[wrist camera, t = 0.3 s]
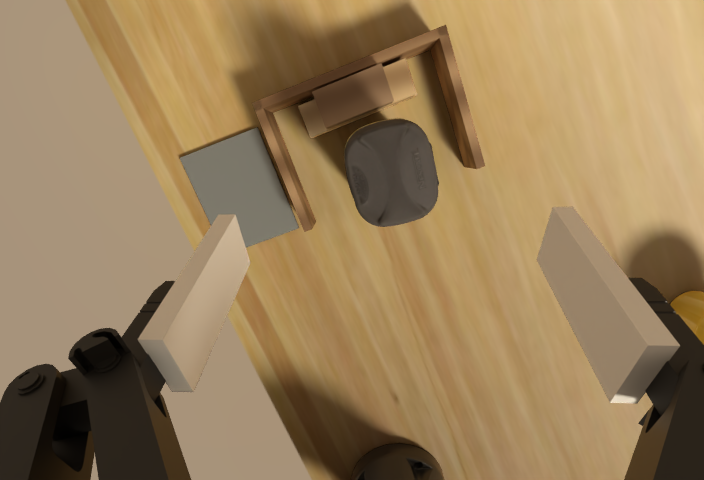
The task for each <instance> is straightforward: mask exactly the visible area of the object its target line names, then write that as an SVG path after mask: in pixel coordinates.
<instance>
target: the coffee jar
mask: <svg viewBox="0 0 704 480" xmlns="http://www.w3.org/2000/svg"><path fill="white" fill-rule="evenodd" d="M344 161H345V169H346V174H347V179H348V183H349V186H350V190H351V193H352V196H353V198H354V201H355V204H356V207H357V210H358V212H359V213H360V215H361V216H362V217H363V218H364V219H365V220H366V221H367V222H369V223H370V224H372V225H375V226H380V227H387V226H395V225H400V224H404V223H408V222H411V221H415V220H417V219H420V218H422V217H424V216H425V215H427V214H428V213H429V212H430V211H431V210H432V209H433V207H434V206H435V203H436V201H437V197H438V185H439V181H438V177H437V172H436V167H435V162H434V157H433V151H432V146H431V144H430V142H429V141H428V138H427V136H426V134H425V133H424V131H423V130H422V129H421V128H420V127H419V126H418V125H417V124H415V123H413V122H411V121H408V120H405V119H387V120H382V121H378V122H374V123H371V124H368V125H366V126H363V127H361V128H359V129H357V130H356V131H355V132H354V133H353V134H352V135H351V136H350V137H349V139H348V140H347V143H346V145H345V150H344Z"/></svg>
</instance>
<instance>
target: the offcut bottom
mask: <svg viewBox="0 0 704 480" xmlns="http://www.w3.org/2000/svg"><path fill="white" fill-rule="evenodd" d="M416 95H417V94H416ZM416 95H415V96H416ZM415 96H414V97H415ZM411 98H413V97H411ZM411 98H409V99H411ZM406 100H408V99H406ZM406 100H404V101H406ZM401 102H403V101H401ZM401 102H399V103H401ZM396 104H398V103H396ZM396 104H394V105H396ZM394 105H391V106H394ZM391 106H388V107H386V108H389V107H391ZM298 108H299V110H300V113H301V115H302V118H303V120H304V123H305V125H306V128H307V130H308V133H309V135H310V138H314V137H317V136H319V135H322V134H324V133H327V132H329V131H332V130H334V129H337V128H339V127H342V126H344V125H346V124H349V123H351V122H354V121H356V120H359V119H361V118H364V117H366V116H369V115H371V114H374V113H376V112H379V111H381V110H384V109H386V108H383V109H381V110H378V111H376V112H373V113H371V114H368V115H366V116H363V117H360V118H358V119H355V120H353V121H350V122H348V123H345V124H343V125H340V126H338V127H335V128H332V129H330V130H328V129H326V128H325V125H324V122H323V120H322V117H321V114H320V112H319V109H318V106H317V104H316V101H315V99H314V100H312V101H309V102H307V103H304V104H302V105H299V106H298Z"/></svg>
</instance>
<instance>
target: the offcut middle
mask: <svg viewBox="0 0 704 480" xmlns="http://www.w3.org/2000/svg"><path fill="white" fill-rule="evenodd" d="M383 69H384V72H385V75H386V78H387V81H388V84H389V87H390V90H391V93H392V96H393V99H394V101H393V102H392V104H389V105H387V106H384V107H382V108H379V109H376V110H374V111H371V112H369V113H366V114H364V115H361V116H359V117H356V118H354V119H351V120H349V121H346V122H344V123H341V124H339V125H336V126H334V127H331V128H329V129H328V130H330V129H332V128H335V127H338V126H340V125H343V124H345V123H348V122H350V121H353V120H355V119H358V118H360V117H363V116H366V115H368V114H371V113H373V112H376V111H378V110H381V109H383V108H386V107H388V106H391V105H394V104H396V103H399V102H401V101H404V100H406V99H409V98H411V97H414V96H415V95H416V94H417V92H416V89H415V86H414V83H413V79H412V76H411V73H410V70H409V67H408V63H407V60H406V58H405V59H402V60H400V61H397V62H395V63H392V64H390V65H387V66H385V67H383Z"/></svg>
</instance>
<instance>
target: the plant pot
mask: <svg viewBox="0 0 704 480" xmlns="http://www.w3.org/2000/svg"><path fill="white" fill-rule="evenodd" d="M670 305H671V306H672V308H673V309H674V310H675V311H676V314H678V315H679V316H680V317H681V318H682V319H683V321H684V322H685V323H686V324H687V325H688V327H689V328H690V329H691V330H692V331H693V333H694V334H695V335H696V336H697V337H698V339H699V340H700V341H701V342H702V343H703V345H704V292H701V291H689V292H685V293H683V294H681V295H679V296H678V297H676V298H675V299H674V300H673V301H672V302H671V304H670Z"/></svg>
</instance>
